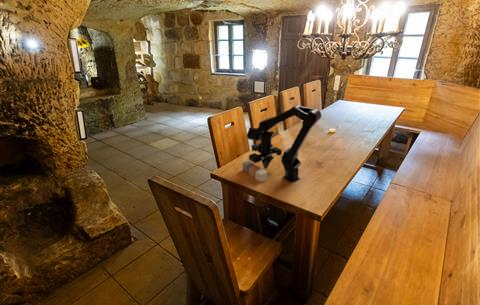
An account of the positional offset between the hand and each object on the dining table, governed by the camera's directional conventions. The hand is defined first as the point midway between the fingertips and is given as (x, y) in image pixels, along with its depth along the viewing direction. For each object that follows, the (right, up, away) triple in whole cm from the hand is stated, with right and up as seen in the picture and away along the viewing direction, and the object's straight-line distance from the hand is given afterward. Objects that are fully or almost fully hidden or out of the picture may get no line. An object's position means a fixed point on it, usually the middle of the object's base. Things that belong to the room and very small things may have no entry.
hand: (265, 168), depth 143 cm
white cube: (-3, -5, -8) cm, 10 cm away
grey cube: (-9, -1, +2) cm, 10 cm away
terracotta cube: (-6, -3, -3) cm, 8 cm away
